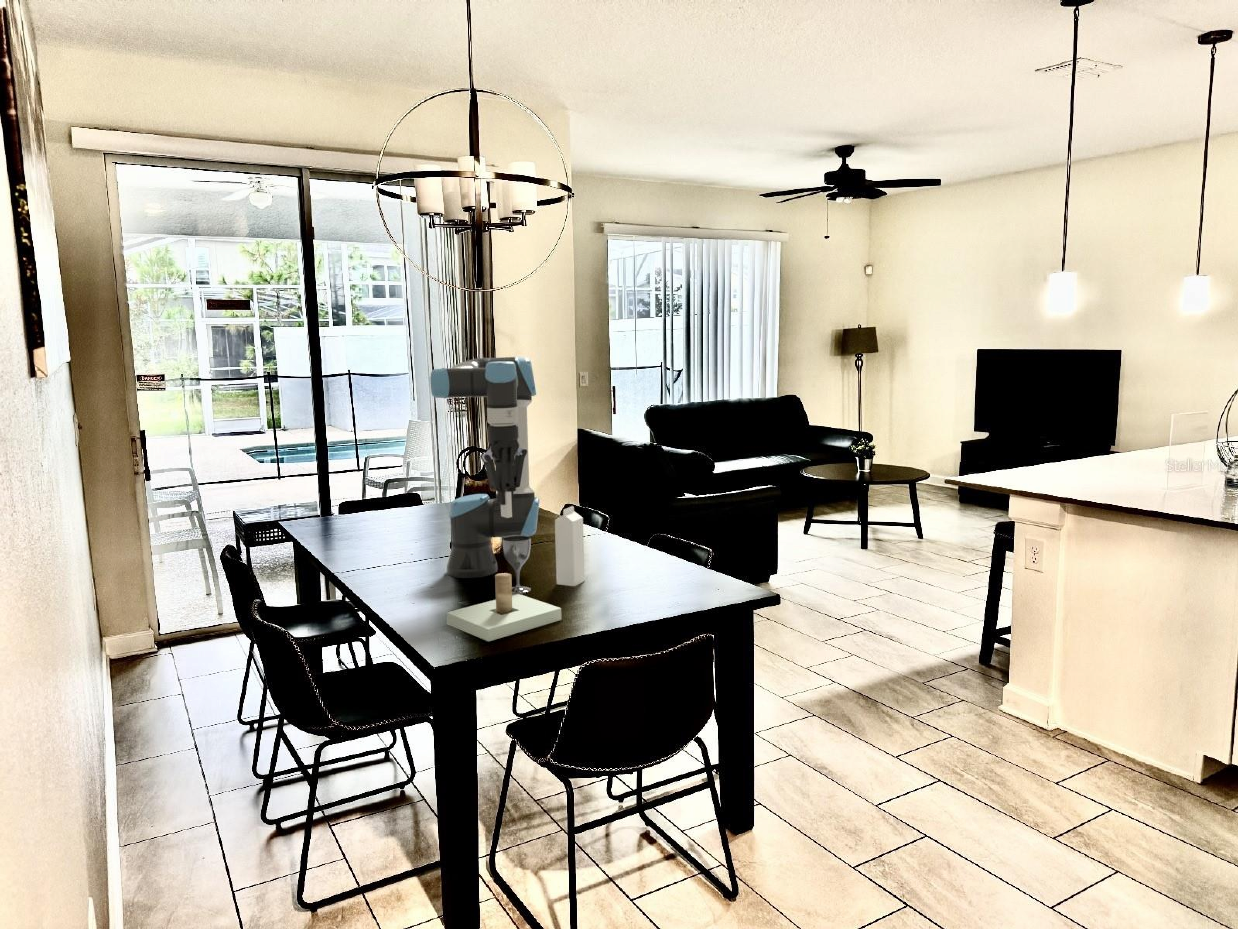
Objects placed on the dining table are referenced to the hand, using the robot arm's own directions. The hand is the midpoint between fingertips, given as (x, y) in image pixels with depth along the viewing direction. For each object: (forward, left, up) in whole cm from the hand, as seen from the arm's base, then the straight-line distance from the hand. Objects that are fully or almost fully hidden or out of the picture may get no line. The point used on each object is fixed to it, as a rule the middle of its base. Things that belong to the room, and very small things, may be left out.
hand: (506, 516), depth 222 cm
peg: (+4, -5, -26) cm, 26 cm away
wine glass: (-16, +14, -26) cm, 33 cm away
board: (+4, -5, -26) cm, 26 cm away
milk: (-11, +29, -26) cm, 40 cm away
